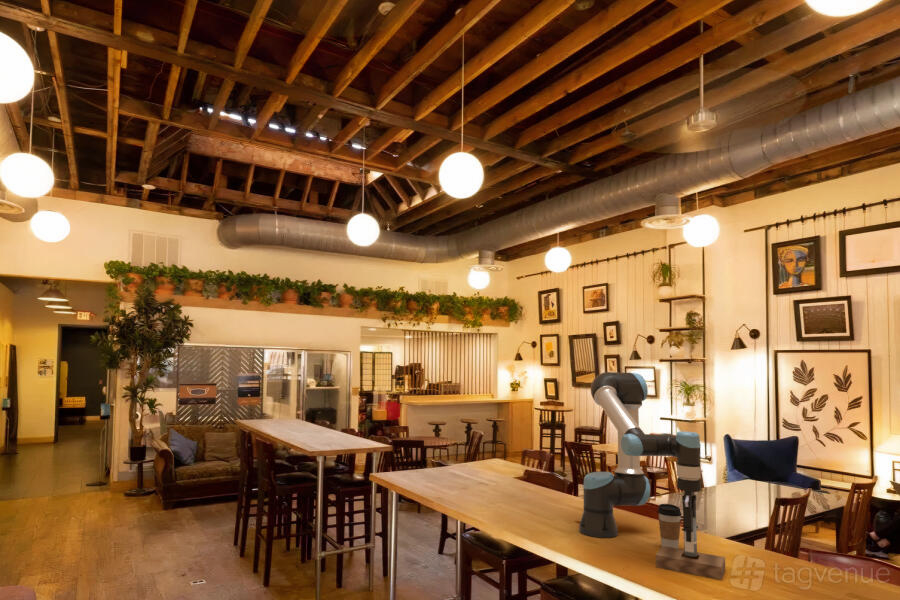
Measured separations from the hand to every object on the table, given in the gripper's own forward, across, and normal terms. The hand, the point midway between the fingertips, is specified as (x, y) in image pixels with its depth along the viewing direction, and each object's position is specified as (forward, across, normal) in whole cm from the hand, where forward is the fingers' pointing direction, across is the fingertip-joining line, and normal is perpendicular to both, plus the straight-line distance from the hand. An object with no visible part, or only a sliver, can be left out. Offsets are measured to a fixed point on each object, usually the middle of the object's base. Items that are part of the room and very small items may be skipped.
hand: (690, 549), depth 189 cm
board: (+6, 0, 0) cm, 6 cm away
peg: (+2, 0, 0) cm, 2 cm away
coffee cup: (+6, +20, +10) cm, 23 cm away
